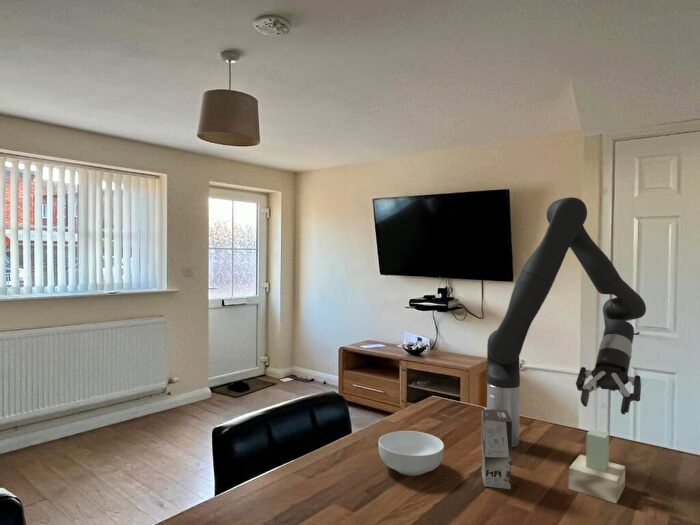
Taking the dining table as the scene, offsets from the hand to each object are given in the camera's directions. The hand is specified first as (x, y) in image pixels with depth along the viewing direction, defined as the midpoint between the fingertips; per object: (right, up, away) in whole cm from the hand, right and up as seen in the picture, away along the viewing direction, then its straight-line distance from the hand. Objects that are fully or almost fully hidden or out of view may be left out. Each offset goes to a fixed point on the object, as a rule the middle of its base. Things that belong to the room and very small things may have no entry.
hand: (603, 408), depth 115 cm
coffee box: (-27, -18, 0) cm, 32 cm away
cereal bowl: (-47, -17, +5) cm, 50 cm away
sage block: (-4, -13, -4) cm, 14 cm away
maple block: (-4, -18, -4) cm, 18 cm away
